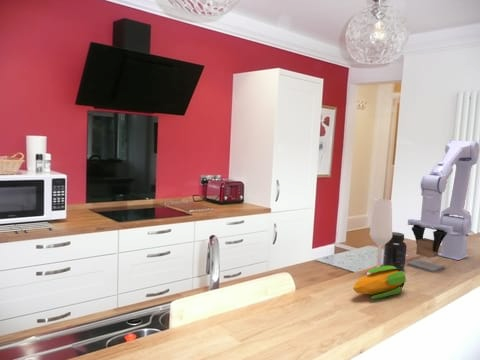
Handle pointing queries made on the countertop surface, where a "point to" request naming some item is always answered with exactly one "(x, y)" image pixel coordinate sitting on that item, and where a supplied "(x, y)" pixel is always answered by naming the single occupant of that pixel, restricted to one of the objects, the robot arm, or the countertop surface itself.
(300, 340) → the countertop surface
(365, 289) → the corn
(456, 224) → the robot arm
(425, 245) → the walnut cube
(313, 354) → the countertop surface
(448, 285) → the countertop surface
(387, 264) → the supplement bottle
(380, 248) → the champagne flute
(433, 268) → the slate coaster
